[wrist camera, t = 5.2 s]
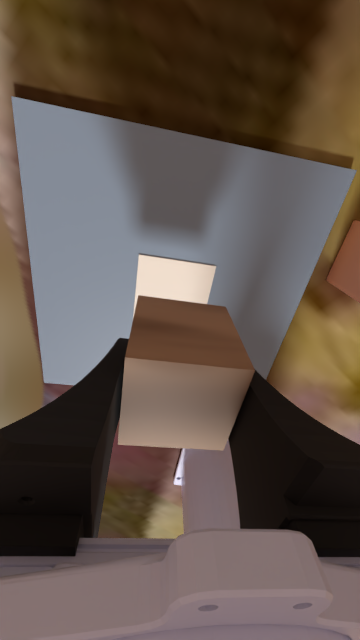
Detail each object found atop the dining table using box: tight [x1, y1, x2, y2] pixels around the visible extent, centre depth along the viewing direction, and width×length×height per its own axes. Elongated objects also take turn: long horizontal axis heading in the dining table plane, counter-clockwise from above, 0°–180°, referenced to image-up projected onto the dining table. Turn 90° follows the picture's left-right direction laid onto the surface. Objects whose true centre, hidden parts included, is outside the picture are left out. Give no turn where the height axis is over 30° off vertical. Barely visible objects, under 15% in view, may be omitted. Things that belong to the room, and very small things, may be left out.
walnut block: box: [118, 295, 255, 451], centre depth 12 cm, size 4×4×5 cm
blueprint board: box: [12, 96, 357, 385], centre depth 20 cm, size 20×20×1 cm
